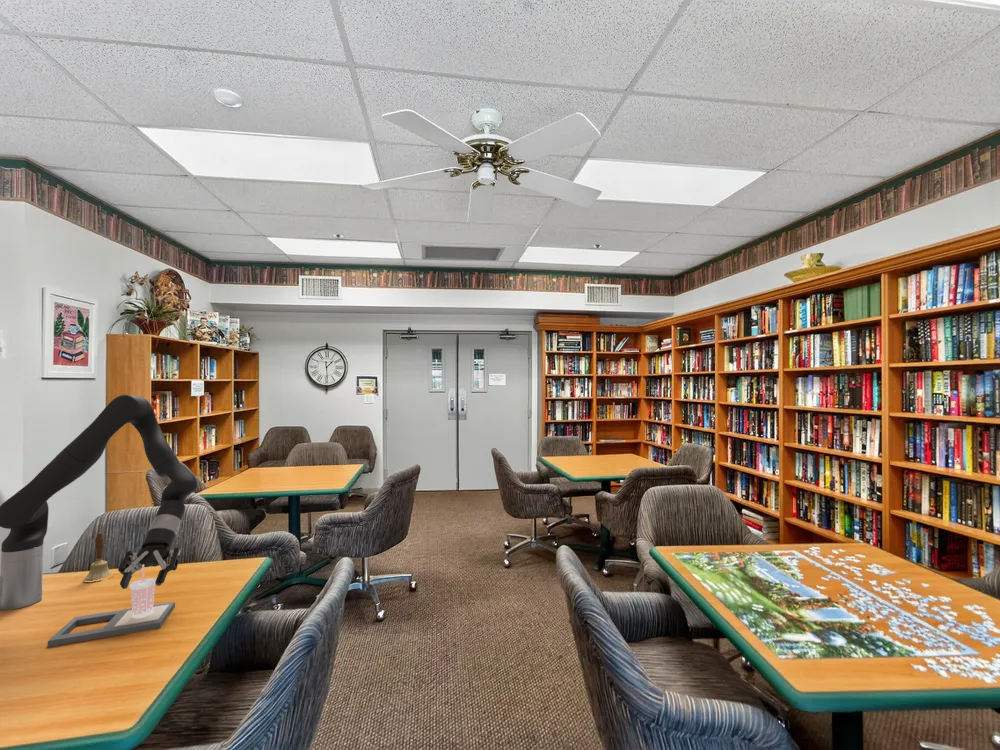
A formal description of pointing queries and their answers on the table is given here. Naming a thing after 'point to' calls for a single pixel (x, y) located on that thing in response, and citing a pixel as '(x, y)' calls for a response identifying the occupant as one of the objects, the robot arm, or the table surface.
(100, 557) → the hand bell
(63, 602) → the table surface
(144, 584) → the beverage cup
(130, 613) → the hole board
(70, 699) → the table surface
